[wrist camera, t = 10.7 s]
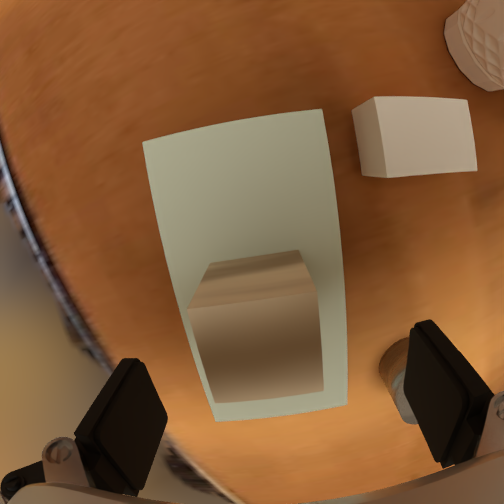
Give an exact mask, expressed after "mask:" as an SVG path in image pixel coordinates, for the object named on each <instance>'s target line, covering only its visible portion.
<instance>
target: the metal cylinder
mask: <svg viewBox="0 0 504 504" xmlns="http://www.w3.org/2000/svg"><path fill="white" fill-rule="evenodd" d="M408 347H409V337H407V338H404V339H401V340H399V341H398V342H396V343H395V344H393V345H392V346H391V347H390V348H389V349H388V350H387V351H386V352H385V354H384V355H383V357H382V358H381V361H380V364H379V373H380V376H381V378H382V380H383V382H384V383H385V385H386V387H387V389H388V391H389V393H390V395H391V397H392V399H393V401H394V403H395V405H396V407H397V409H398V411H399V413H400V415H401V417H402V419H403V421H404V422H406V423H408V424H418V422H417V420H416V418H415V416H414V414H413V411H412V409H411V407H410V405H409V403H408V401H407V399H406V397H405V395H404V391H403V384H404V378H405V371H406V363H407V355H408Z"/></svg>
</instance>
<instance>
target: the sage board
mask: <svg viewBox="0 0 504 504" xmlns="http://www.w3.org/2000/svg"><path fill="white" fill-rule="evenodd" d="M142 143H143V149H144V155H145V161H146V166H147V172H148V177H149V183H150V188H151V193H152V198H153V203H154V208H155V213H156V217H157V222H158V227H159V231H160V236H161V240H162V244H163V248H164V253H165V257H166V261H167V265H168V269H169V273H170V277H171V281H172V285H173V288H174V292H175V296H176V299H177V303H178V307H179V310H180V314H181V317H182V321H183V324H184V328H185V331H186V334H187V338H188V341H189V344H190V348H191V351H192V354H193V357H194V360H195V363H196V366H197V370H198V373H199V376H200V379H201V382H202V385H203V387H204V390H205V393H206V396H207V399H208V402H209V405H210V407H211V410H212V413H213V416H214V418H215V421H216V422H220V421H236V420H249V419H259V418H269V417H277V416H285V415H292V414H299V413H306V412H312V411H317V410H323V409H328V408H334V407H339V406H344V405H347V392H348V360H347V322H346V301H345V284H344V270H343V258H342V247H341V236H340V227H339V218H338V209H337V201H336V193H335V185H334V178H333V171H332V165H331V158H330V152H329V146H328V140H327V134H326V128H325V123H324V117H323V112H322V109H316V110H306V111H297V112H289V113H281V114H274V115H267V116H260V117H254V118H248V119H242V120H236V121H231V122H226V123H220V124H215V125H211V126H206V127H201V128H197V129H192V130H188V131H183V132H179V133H175V134H171V135H167V136H163V137H159V138H156V139H152V140H148V141H145V142H142ZM292 250H299V252H300V254H301V256H302V259H303V261H304V263H305V265H306V267H307V270H308V272H309V274H310V276H311V278H312V281H313V283H314V285H315V287H316V290H317V295H318V306H319V318H320V331H321V345H322V360H323V379H324V391H320V392H314V393H308V394H301V395H295V396H288V397H280V398H272V399H263V400H254V401H243V402H231V403H215V402H214V399H213V396H212V393H211V390H210V387H209V384H208V381H207V377H206V374H205V371H204V368H203V364H202V361H201V358H200V354H199V351H198V348H197V344H196V341H195V337H194V334H193V330H192V327H191V323H190V319H189V316H188V312H187V308H188V306H189V304H190V302H191V300H192V298H193V296H194V294H195V292H196V290H197V288H198V286H199V284H200V282H201V280H202V278H203V276H204V274H205V272H206V270H207V268H208V266H209V264H210V263H213V262H220V261H226V260H233V259H240V258H246V257H253V256H259V255H266V254H273V253H279V252H286V251H292Z"/></svg>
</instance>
